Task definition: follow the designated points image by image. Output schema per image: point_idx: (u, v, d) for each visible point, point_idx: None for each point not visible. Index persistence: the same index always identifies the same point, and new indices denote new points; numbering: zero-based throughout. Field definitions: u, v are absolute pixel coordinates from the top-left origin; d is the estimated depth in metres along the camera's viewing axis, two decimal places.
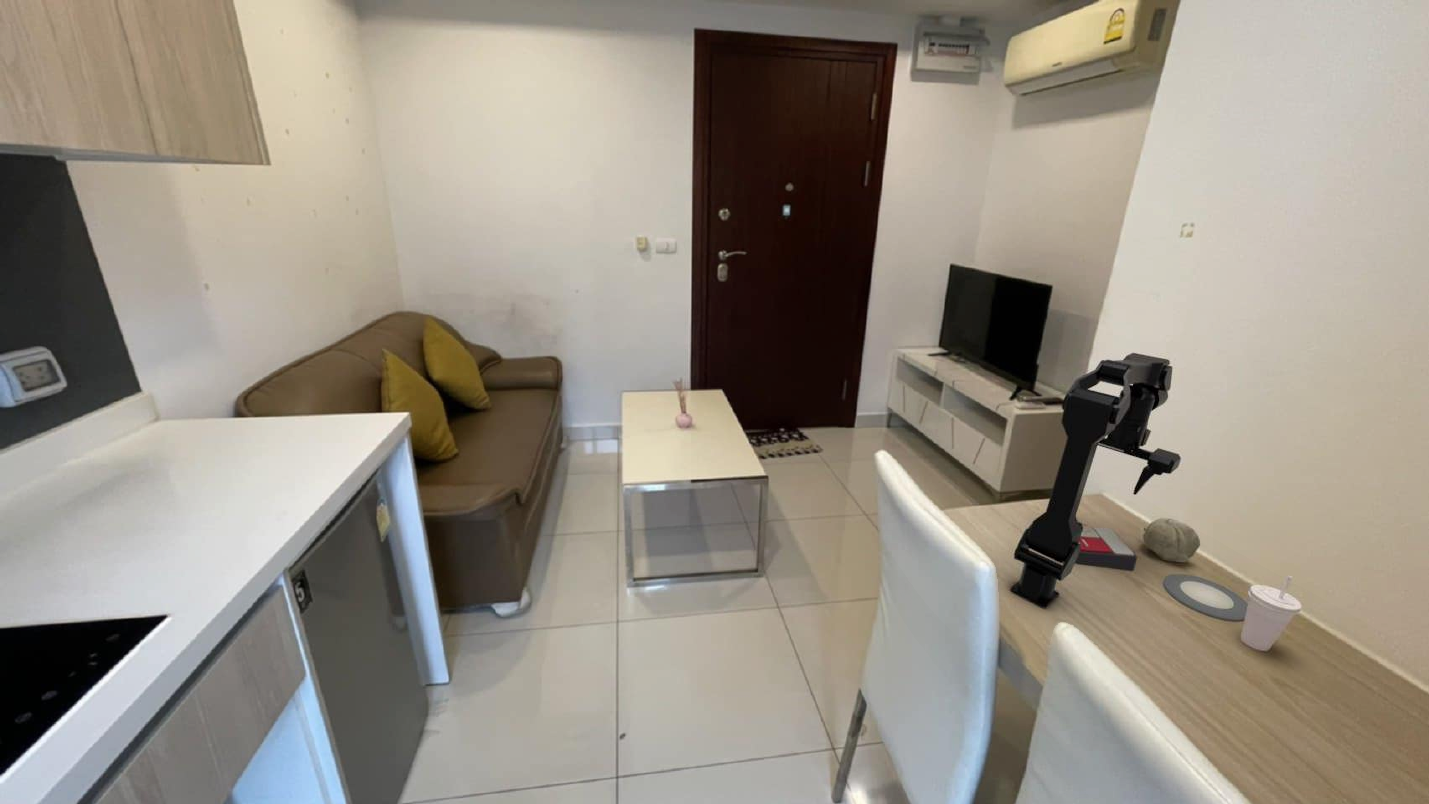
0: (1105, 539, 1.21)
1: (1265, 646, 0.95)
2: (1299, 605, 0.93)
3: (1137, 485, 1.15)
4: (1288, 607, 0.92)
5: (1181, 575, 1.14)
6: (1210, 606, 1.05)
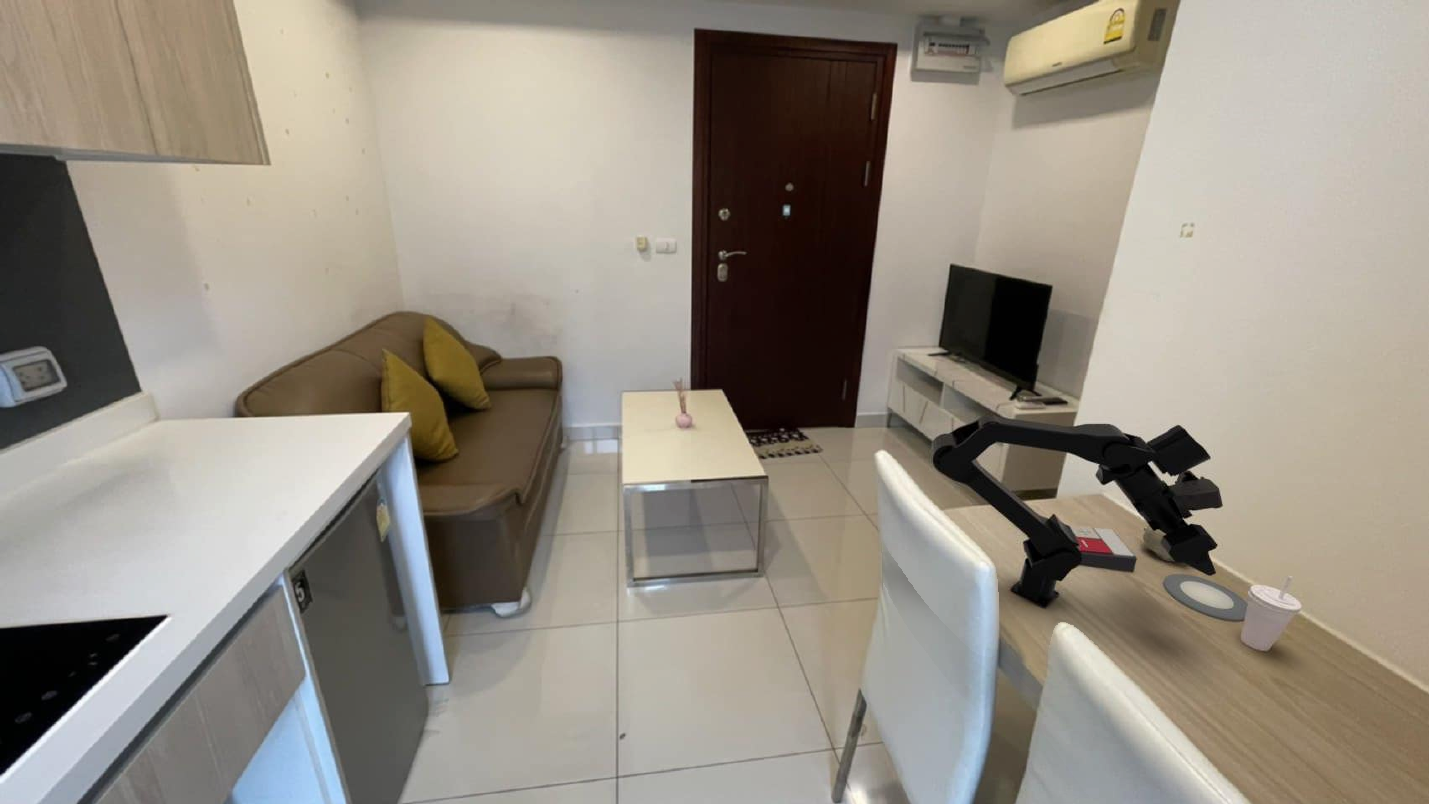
0: (1105, 540, 1.20)
1: (1265, 646, 0.95)
2: (1299, 605, 0.93)
3: None
4: (1288, 607, 0.92)
5: (1181, 575, 1.14)
6: (1210, 606, 1.05)
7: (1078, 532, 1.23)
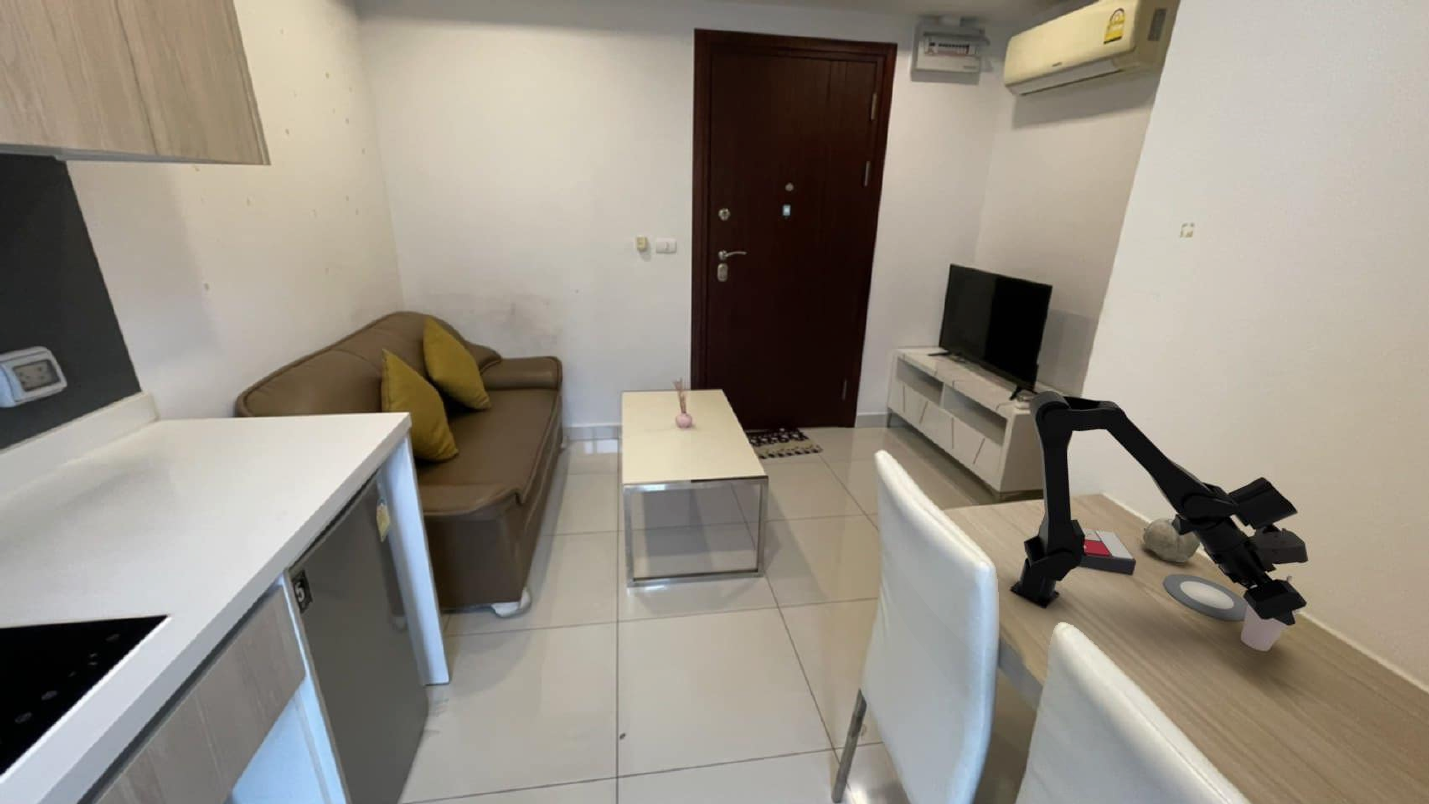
0: (1105, 542, 1.19)
1: (1265, 646, 0.95)
2: None
3: None
4: None
5: (1181, 575, 1.14)
6: (1210, 606, 1.05)
7: None
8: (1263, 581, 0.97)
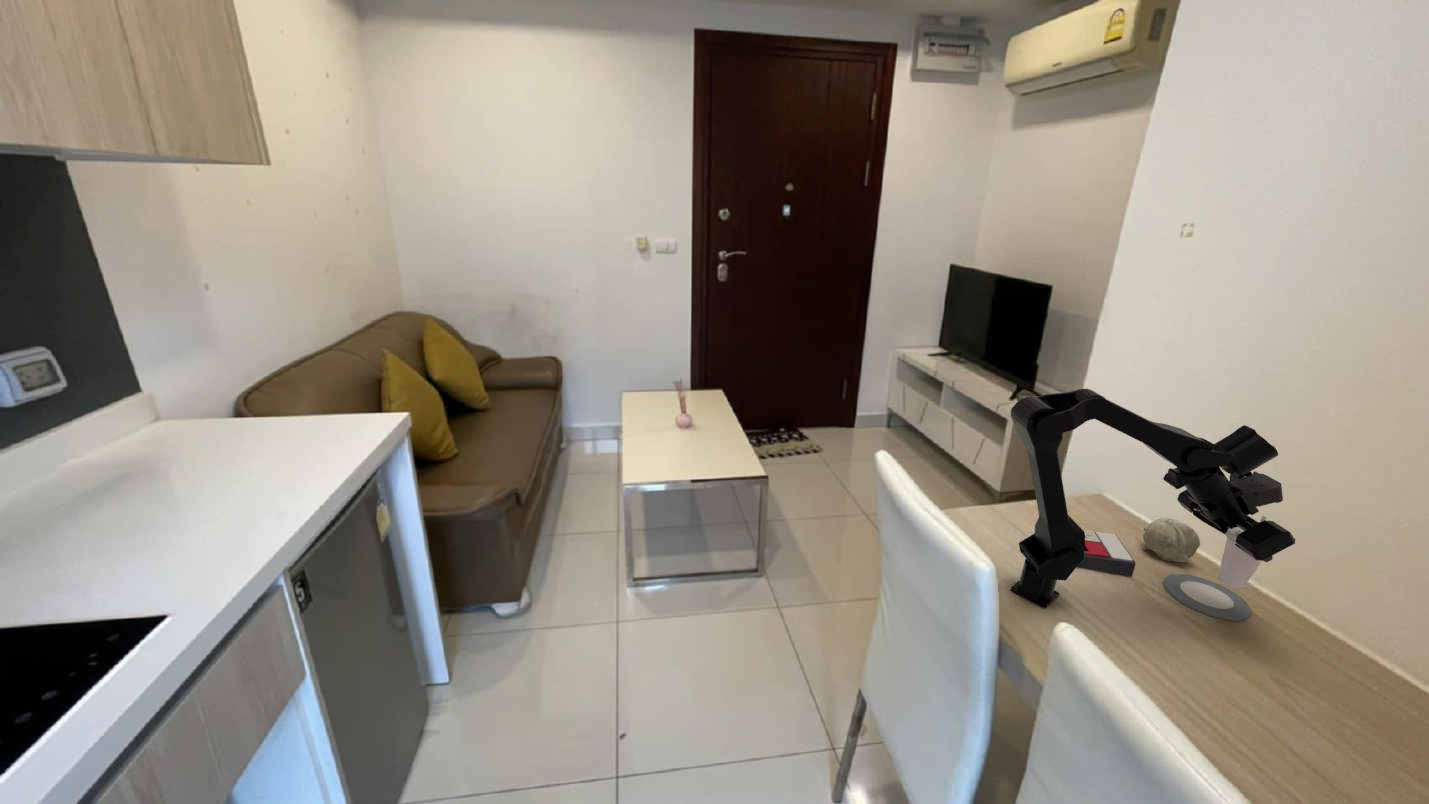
0: (1105, 544, 1.19)
1: (1242, 584, 1.02)
2: None
3: None
4: None
5: (1181, 575, 1.14)
6: (1210, 606, 1.05)
7: None
8: None
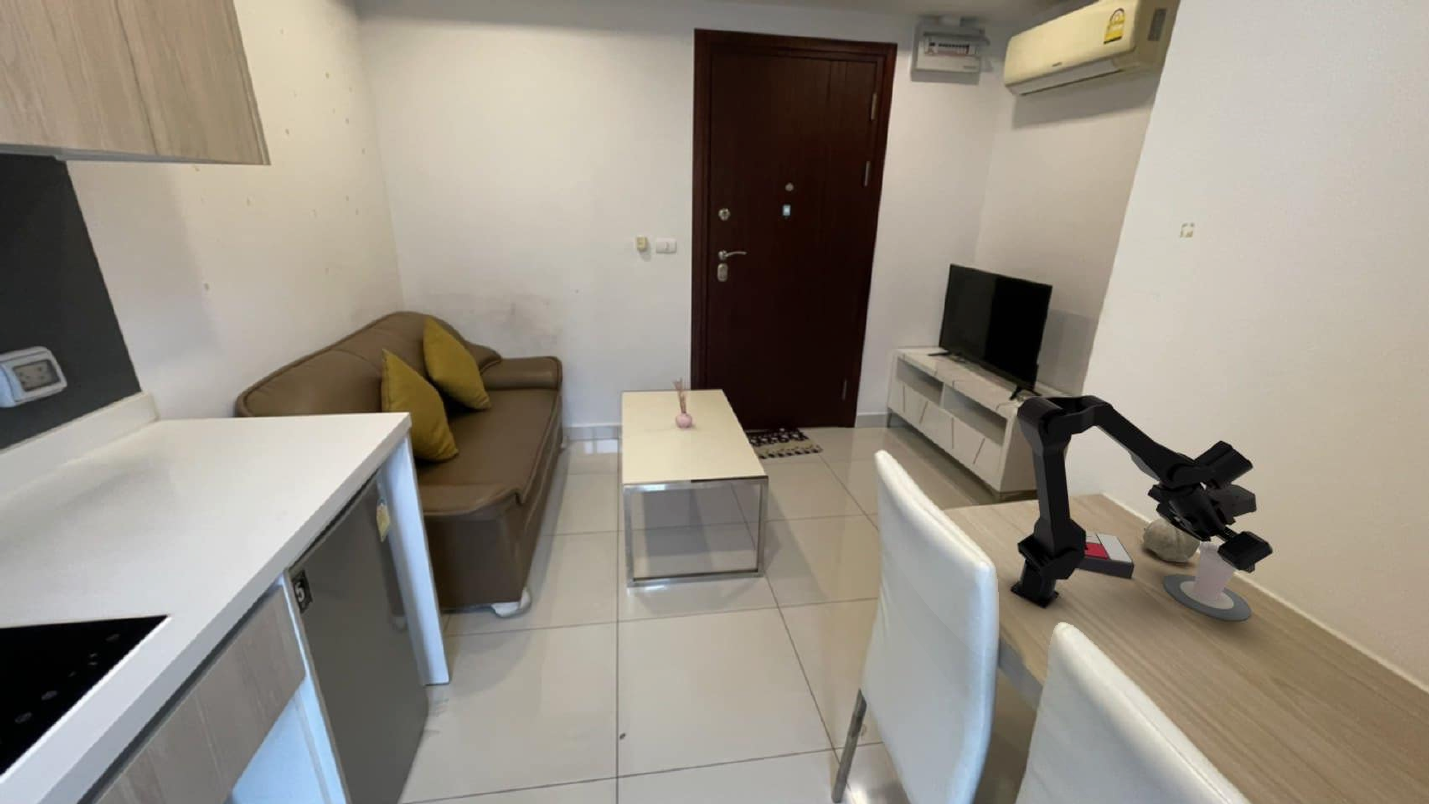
0: (1105, 545, 1.18)
1: (1217, 596, 1.07)
2: None
3: None
4: None
5: (1181, 575, 1.14)
6: (1210, 606, 1.05)
7: None
8: None
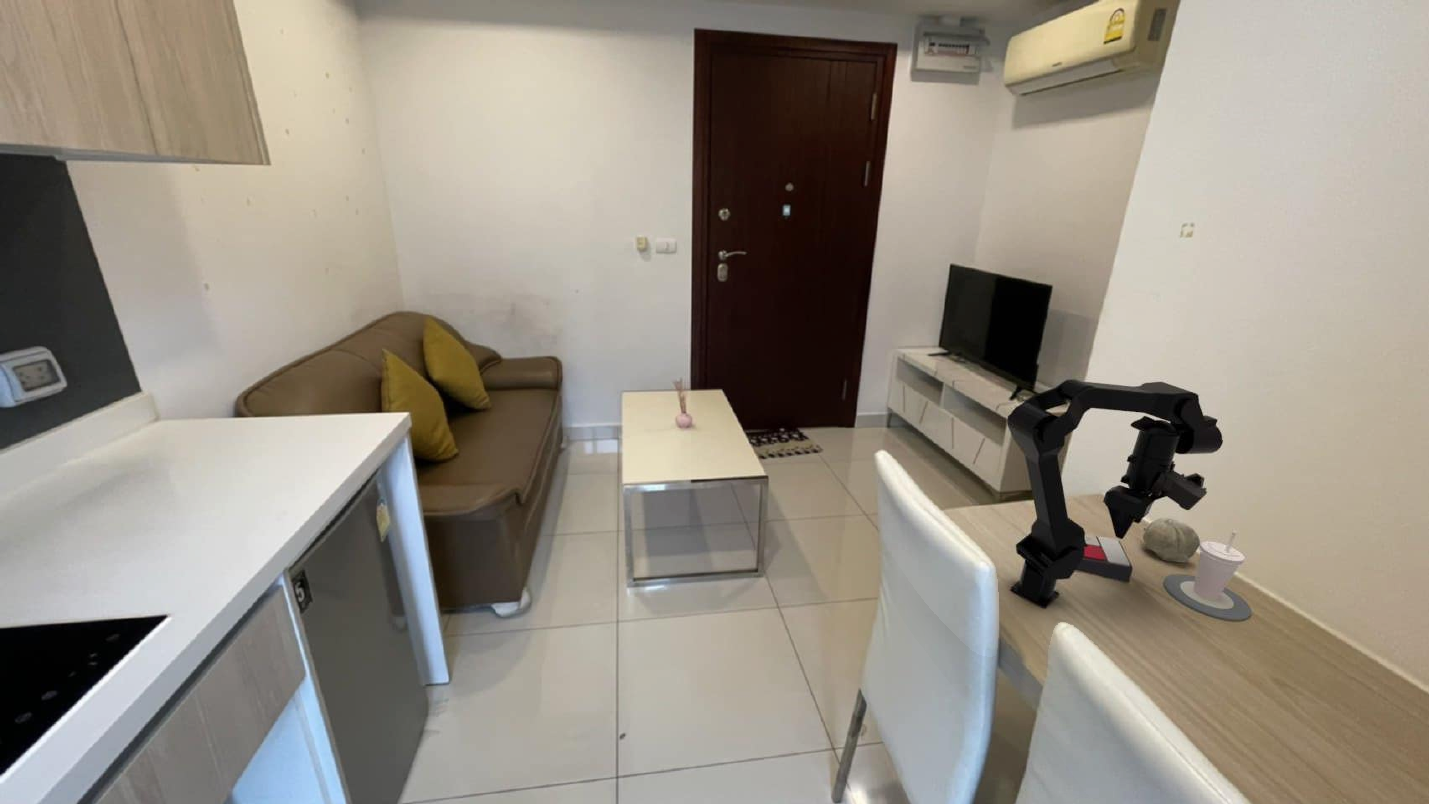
0: (1105, 548, 1.17)
1: (1217, 596, 1.07)
2: (1242, 555, 1.04)
3: None
4: (1237, 559, 1.03)
5: (1181, 575, 1.14)
6: (1210, 606, 1.05)
7: None
8: None
